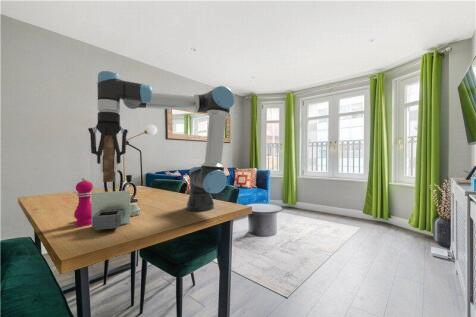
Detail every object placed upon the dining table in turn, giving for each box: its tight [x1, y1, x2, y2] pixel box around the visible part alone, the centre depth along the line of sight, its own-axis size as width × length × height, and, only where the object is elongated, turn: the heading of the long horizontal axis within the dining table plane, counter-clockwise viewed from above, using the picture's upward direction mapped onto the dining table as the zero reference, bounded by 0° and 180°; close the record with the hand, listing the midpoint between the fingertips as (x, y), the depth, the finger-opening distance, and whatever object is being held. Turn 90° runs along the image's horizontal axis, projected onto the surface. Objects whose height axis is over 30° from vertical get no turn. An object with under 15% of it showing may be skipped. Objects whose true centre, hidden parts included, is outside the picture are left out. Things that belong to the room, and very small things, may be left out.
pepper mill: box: [73, 176, 94, 227], centre depth 91 cm, size 7×7×20 cm
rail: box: [102, 135, 116, 183], centre depth 83 cm, size 4×4×18 cm
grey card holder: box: [90, 190, 131, 231], centre depth 85 cm, size 14×12×14 cm
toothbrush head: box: [130, 202, 141, 217], centre depth 100 cm, size 5×7×25 cm
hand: (109, 172), depth 84 cm, fingers closed on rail, 4 cm apart
